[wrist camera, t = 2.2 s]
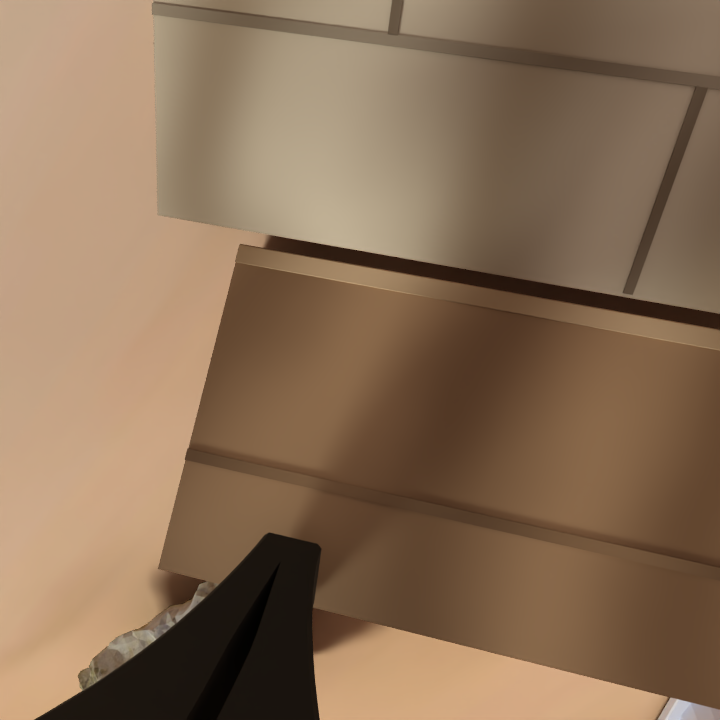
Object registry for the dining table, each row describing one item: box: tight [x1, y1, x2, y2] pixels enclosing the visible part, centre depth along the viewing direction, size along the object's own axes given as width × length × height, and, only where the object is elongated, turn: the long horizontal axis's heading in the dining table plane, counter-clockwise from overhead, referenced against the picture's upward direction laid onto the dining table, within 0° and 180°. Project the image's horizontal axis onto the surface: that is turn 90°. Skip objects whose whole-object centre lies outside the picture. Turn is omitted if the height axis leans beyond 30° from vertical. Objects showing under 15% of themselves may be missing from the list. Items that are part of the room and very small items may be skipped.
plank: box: [158, 244, 720, 710], centre depth 14 cm, size 15×9×2 cm
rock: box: [78, 581, 219, 691], centre depth 21 cm, size 11×6×10 cm
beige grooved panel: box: [152, 0, 720, 314], centre depth 12 cm, size 20×10×2 cm, turn 82°
